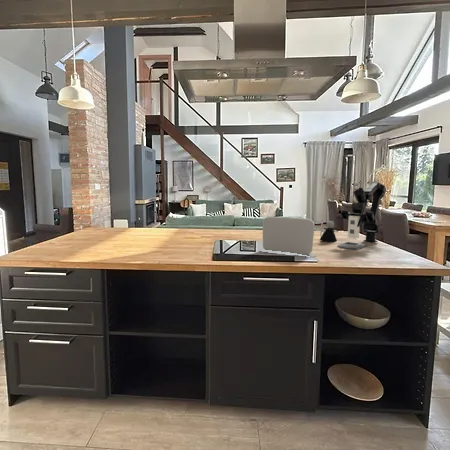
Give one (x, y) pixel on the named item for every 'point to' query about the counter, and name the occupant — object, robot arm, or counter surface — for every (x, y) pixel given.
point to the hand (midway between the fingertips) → (353, 226)
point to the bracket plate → (352, 245)
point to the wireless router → (288, 235)
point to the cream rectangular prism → (353, 227)
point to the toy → (328, 232)
